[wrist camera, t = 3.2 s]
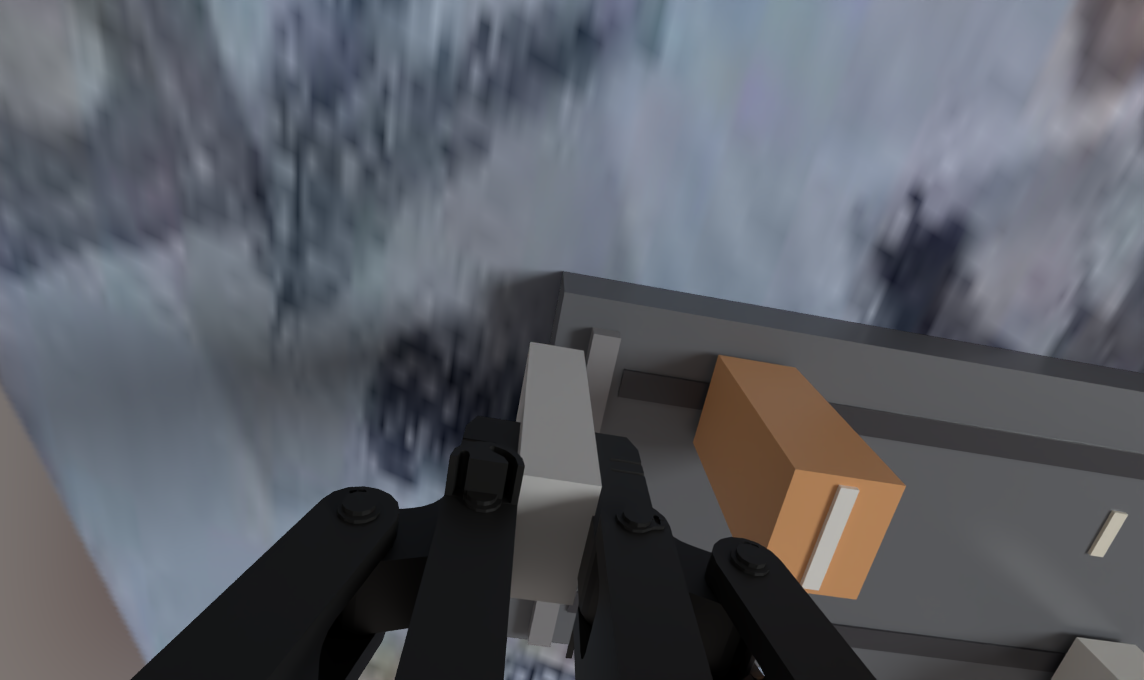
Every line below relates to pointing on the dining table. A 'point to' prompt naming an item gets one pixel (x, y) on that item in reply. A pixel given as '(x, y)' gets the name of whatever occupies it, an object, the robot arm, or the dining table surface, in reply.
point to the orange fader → (794, 475)
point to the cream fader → (1101, 661)
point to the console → (898, 474)
